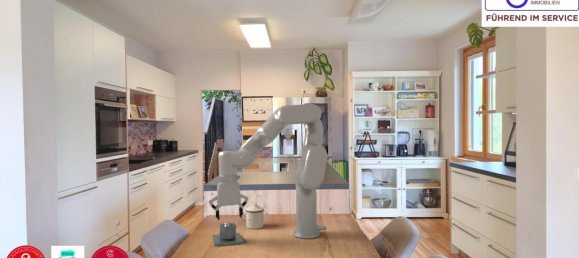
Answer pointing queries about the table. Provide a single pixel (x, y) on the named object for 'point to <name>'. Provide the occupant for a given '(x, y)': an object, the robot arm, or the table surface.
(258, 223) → the teacup with lid
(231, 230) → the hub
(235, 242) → the shaft block
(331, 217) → the table surface
